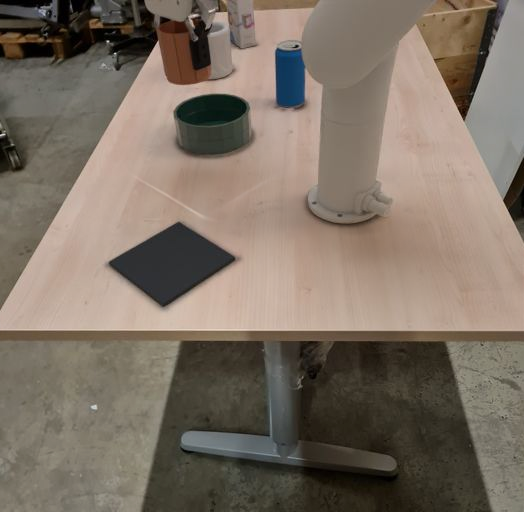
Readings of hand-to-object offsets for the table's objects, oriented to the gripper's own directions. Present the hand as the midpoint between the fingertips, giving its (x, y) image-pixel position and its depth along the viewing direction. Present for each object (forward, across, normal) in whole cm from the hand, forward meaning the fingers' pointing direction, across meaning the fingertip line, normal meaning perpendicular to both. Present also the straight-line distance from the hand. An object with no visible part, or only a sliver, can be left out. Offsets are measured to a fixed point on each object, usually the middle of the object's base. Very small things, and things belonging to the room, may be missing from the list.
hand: (186, 60), depth 76 cm
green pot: (+20, -10, +10) cm, 24 cm away
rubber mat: (+20, +16, -20) cm, 32 cm away
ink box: (+19, -48, +52) cm, 73 cm away
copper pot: (+2, 0, 0) cm, 2 cm away
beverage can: (+20, -9, +32) cm, 39 cm away
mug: (+19, -39, +34) cm, 55 cm away
